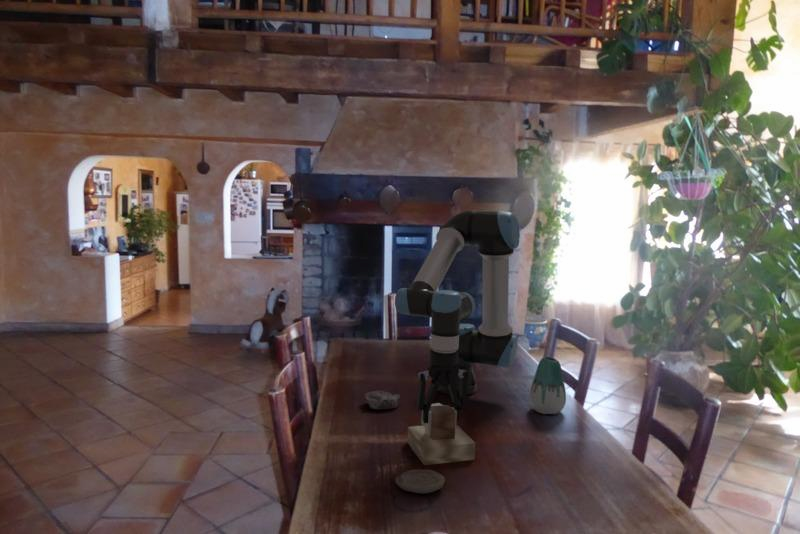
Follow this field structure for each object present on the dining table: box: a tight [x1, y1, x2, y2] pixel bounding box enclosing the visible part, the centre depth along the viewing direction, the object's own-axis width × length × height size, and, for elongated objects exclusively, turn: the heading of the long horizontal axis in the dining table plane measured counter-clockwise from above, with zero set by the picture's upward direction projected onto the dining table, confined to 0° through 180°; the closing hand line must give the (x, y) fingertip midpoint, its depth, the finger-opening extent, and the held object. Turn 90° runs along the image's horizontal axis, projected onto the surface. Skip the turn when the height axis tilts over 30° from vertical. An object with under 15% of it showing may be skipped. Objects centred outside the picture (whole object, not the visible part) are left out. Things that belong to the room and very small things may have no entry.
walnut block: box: [430, 404, 457, 440], centre depth 155 cm, size 6×6×7 cm
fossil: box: [395, 469, 446, 494], centre depth 136 cm, size 10×12×3 cm
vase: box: [528, 356, 567, 415], centre depth 188 cm, size 12×12×18 cm
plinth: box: [406, 423, 476, 466], centre depth 156 cm, size 14×14×5 cm
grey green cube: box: [420, 402, 443, 426], centre depth 172 cm, size 6×6×6 cm
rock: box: [364, 390, 401, 411], centre depth 188 cm, size 8×11×5 cm
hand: (440, 433), depth 156 cm, fingers open, 6 cm apart
